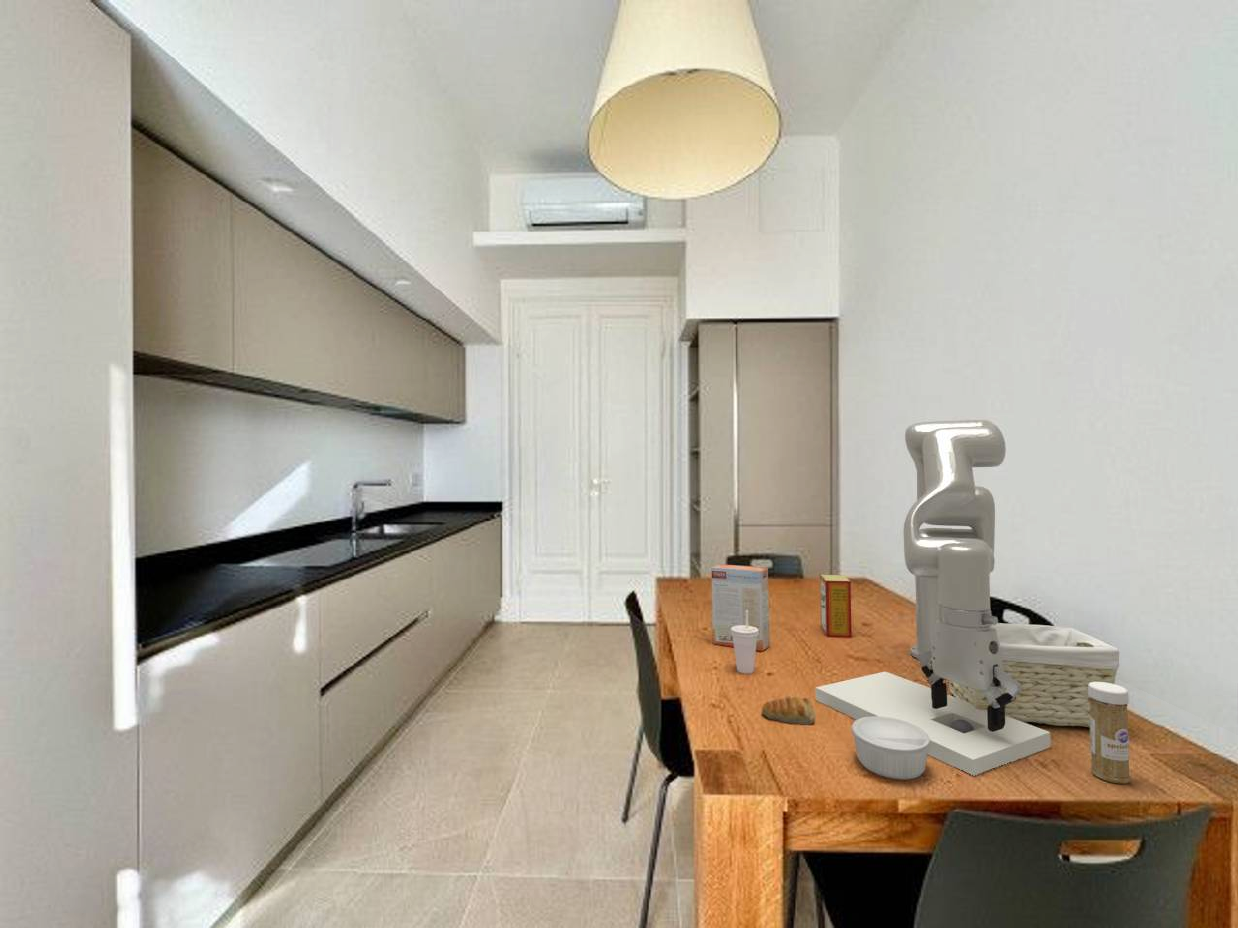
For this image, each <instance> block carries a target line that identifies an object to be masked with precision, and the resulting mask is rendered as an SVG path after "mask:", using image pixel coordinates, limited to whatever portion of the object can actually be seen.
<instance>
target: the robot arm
mask: <svg viewBox="0 0 1238 928" xmlns="http://www.w3.org/2000/svg"><path fill="white" fill-rule="evenodd" d="M904 439H905V440H904V441H905V446H906V449H907V450H908V453H909V456H910V457H911V459H912V460H913V463H914V465H915V469H916V501H915V502H914V503H913V505H912V506H911V508H910V509H909V510H908V512H907V514H906V516H905V520H904V523H903V549H904V550H903V552H904V553H903V554H904V563H905V565H906V569H907V570H908V572H910V574H912V575H914V577H915V578H914V581H915V615H916V616H915V621H916V622H915V626H916V627H915V629H916V645H913V646H911V647H910V648H909V653H910V655H911V656H912V657H914V658H915V659H917V660H918V662H919V665H920V666H921V671H922V672H923V674H924V675H925V677H926V679H927V680H926V681H927V683H928V684H929V685H930V688H931V699H932V708H934V709H938V708H942V707H945V706H947V694H948V686H947V683H945V681H948V682H949V681H951V682H954V683H957V684H960V685H963V686H966V687H969V688H971V689H975V690H978V691H982V692H983V693H984V695H985V696H986V698H987V699H988V701H989V702H990V704H991V705H990V706H988V707H987V719H988V729H989V731H992V732H994V731H997V730H1000V729H1003V728H1004V725H1005V705H1008V704H1009V703H1010V702H1012V701H1013V700H1015V699H1016V696H1017V695H1018V694H1019V692H1020V691H1021V689H1022V685H1021V684H1020V683H1019V682H1017V681H1016V680H1015V679H1014V678H1012V677H1011V676H1010V675H1008V674H1007V673H1006V672H1005V671H1004V666H1003V658H1002V651H1001V646H1000V641H999V637H998V634H997V631H996V629H994V628H991V625H992V624H993V625H996V624H997V623H999V619H998V617H997V616H993V615H992V610H991V588H990V587H991V586H990V585H991V583H990V581H991V580H990V579H991V577H990V576H991V573H992V572H994V569H995V563H996V562H995V533H996V532H995V530H996V507H995V500H994V496H993V494H992V492H991V491H990V490H989V489H987V488H986V487H983V486H978V485H975V479H974V470H973V468H994V467H999V466H1000V465H1001V464H1003V462H1004V460H1005V458H1006V441H1005V438H1004V435H1003V433H1002V431H1001V430H1000V428H999V427H998V425H996V424H995V423H993V422H992V421H990V420H988V419H987V420H986V419H970V420H966V419H965V420H936V421H923V422H918V423H917V422H916V423H914V424H911V425H910V426H908V427H907V428H906V430H905V433H904ZM923 524H927V525H932V526H946V527H947V526H949V528H948V527H947V528H946V527H942V528H941V527H926V528H920V527H921V526H922V525H923ZM954 526H955V527H970V528H968V529H967V528H951V527H954ZM1004 685H1006V687H1007V689H1006V692H1005V693H1003V692H1002V691H1001V689H1000V688H1001V687H1003V686H1004ZM993 693H994V694H993Z"/></svg>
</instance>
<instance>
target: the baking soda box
mask: <svg viewBox="0 0 1238 928" xmlns="http://www.w3.org/2000/svg"><path fill="white" fill-rule="evenodd" d="M819 587H820V588H819V589H820V591H819V592H820V595H819V596H820V597H819V598H820V628H822V629H821V630H822V631H823V634H824V636H826V638H837V639H839V638H840V639H841V638H842V639H852V590H851V589H852V585H851V580H850V579H849V578H847V576H845V575H844V574H819Z"/></svg>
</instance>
